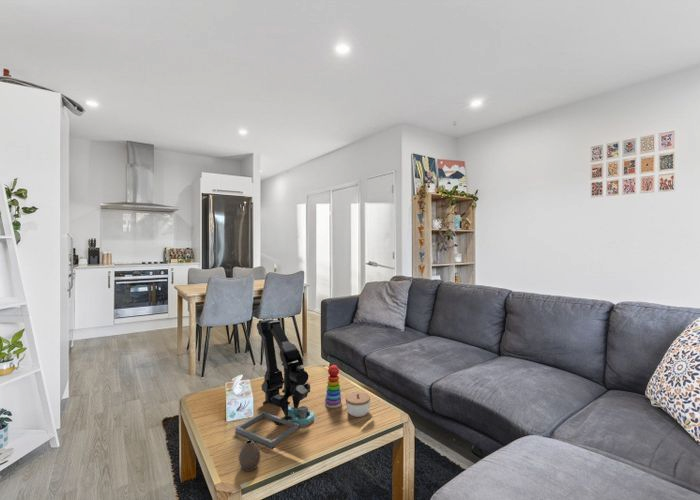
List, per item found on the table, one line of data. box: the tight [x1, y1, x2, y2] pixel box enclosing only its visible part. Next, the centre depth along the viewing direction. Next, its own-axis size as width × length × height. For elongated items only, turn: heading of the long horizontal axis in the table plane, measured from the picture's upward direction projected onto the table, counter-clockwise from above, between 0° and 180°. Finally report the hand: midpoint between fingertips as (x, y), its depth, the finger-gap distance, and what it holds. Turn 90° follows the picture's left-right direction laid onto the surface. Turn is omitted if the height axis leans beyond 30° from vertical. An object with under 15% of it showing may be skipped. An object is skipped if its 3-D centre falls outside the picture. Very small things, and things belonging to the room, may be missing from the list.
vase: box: [238, 439, 261, 472], centre depth 116 cm, size 7×7×9 cm
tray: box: [234, 411, 300, 450], centre depth 137 cm, size 20×15×2 cm
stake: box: [288, 405, 320, 429], centre depth 145 cm, size 10×10×6 cm
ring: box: [287, 405, 315, 425], centre depth 146 cm, size 14×9×3 cm, turn 57°
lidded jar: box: [345, 391, 371, 418], centre depth 150 cm, size 11×11×9 cm
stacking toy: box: [324, 364, 343, 409], centre depth 158 cm, size 8×8×19 cm
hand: (291, 413), depth 148 cm, fingers open, 6 cm apart
